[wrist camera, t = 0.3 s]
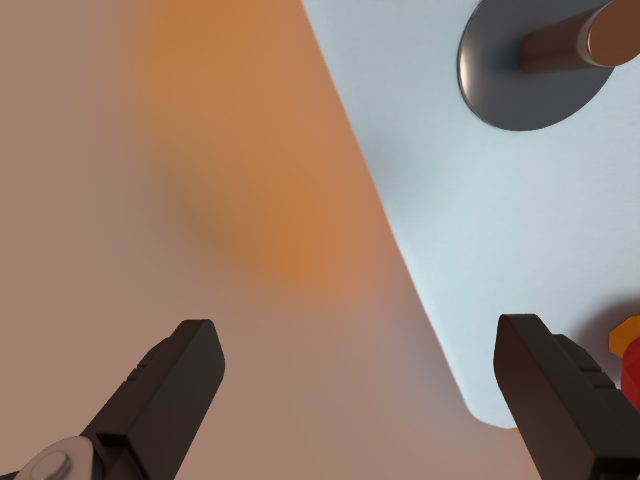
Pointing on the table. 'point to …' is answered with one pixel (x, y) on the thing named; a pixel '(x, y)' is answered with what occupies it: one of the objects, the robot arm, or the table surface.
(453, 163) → the table surface
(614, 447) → the robot arm
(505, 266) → the table surface
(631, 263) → the table surface
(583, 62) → the lid
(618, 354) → the potion bottle
